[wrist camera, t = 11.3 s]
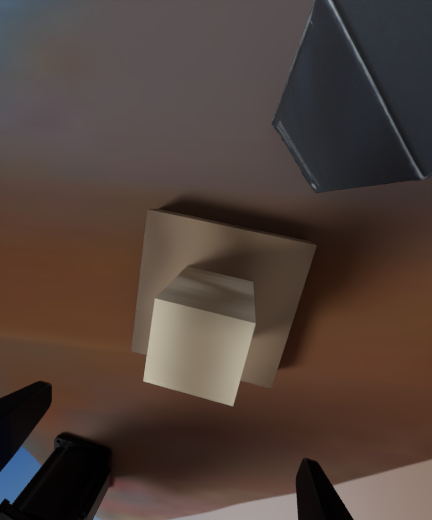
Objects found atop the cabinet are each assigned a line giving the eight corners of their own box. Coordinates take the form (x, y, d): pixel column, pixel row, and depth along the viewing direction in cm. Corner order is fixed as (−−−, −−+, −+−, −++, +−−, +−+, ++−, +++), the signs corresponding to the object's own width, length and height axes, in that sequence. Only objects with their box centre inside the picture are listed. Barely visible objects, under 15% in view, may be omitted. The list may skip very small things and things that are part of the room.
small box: (316, 200, 17) (423, 194, 6) (268, 121, 16) (303, -26, 6) (475, 97, 14) (1062, -177, 4) (426, -4, 13) (999, -670, 3)
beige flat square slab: (141, 337, 21) (131, 351, 19) (158, 208, 18) (147, 209, 16) (269, 371, 20) (271, 388, 18) (309, 240, 17) (316, 245, 15)
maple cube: (176, 325, 18) (143, 380, 12) (186, 266, 17) (154, 298, 11) (237, 340, 18) (232, 406, 12) (253, 281, 17) (255, 323, 11)
